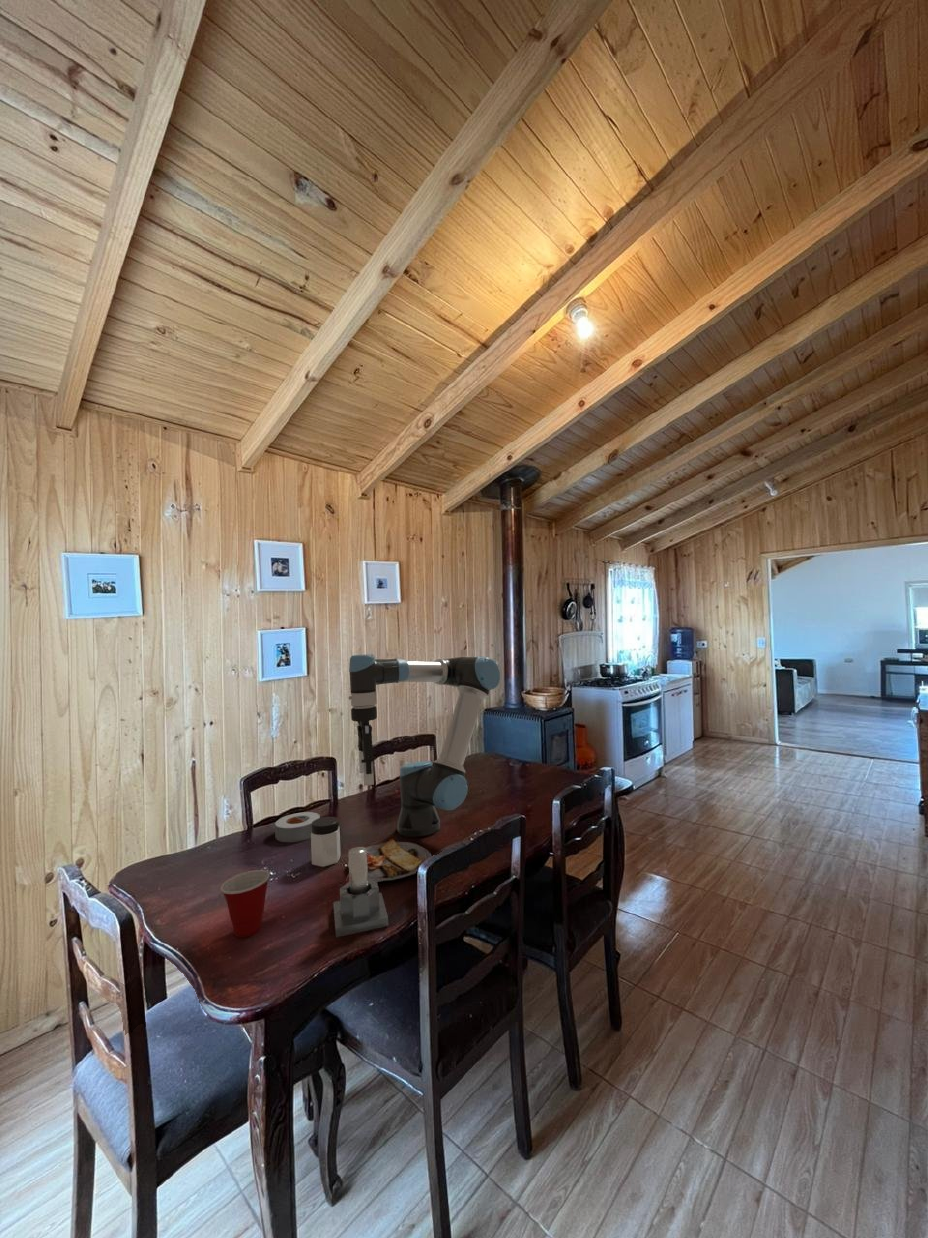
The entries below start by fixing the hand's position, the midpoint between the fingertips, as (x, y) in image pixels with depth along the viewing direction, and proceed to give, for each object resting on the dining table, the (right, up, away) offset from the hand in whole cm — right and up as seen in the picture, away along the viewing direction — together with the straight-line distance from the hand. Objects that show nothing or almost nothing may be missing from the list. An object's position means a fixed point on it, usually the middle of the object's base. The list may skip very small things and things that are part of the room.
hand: (366, 778), depth 144 cm
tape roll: (-30, -30, +30) cm, 52 cm away
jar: (-14, -28, +7) cm, 32 cm away
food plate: (+7, -27, +2) cm, 28 cm away
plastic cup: (-23, -27, -28) cm, 45 cm away
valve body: (+3, -26, -23) cm, 35 cm away
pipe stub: (+3, -24, -25) cm, 35 cm away
